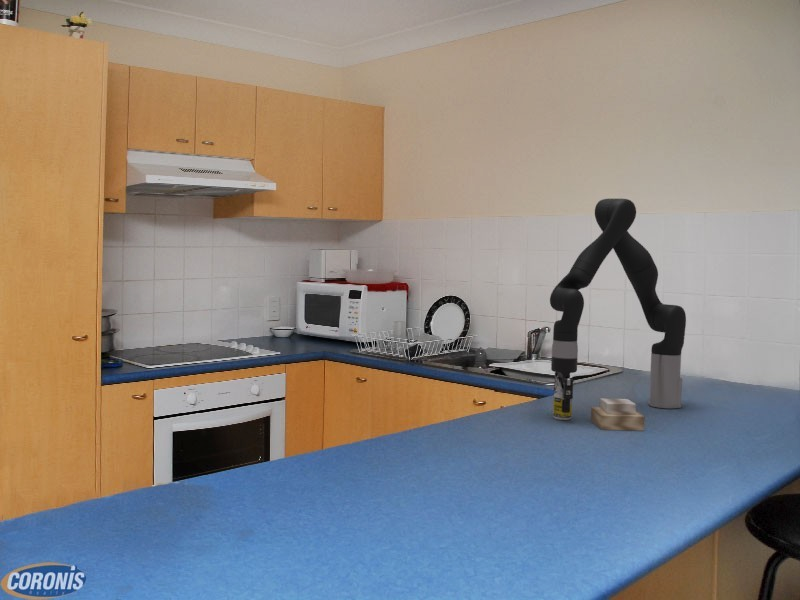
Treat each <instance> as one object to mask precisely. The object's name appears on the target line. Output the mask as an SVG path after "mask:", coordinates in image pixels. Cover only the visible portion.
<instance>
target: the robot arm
mask: <svg viewBox="0 0 800 600" xmlns="http://www.w3.org/2000/svg"><path fill="white" fill-rule="evenodd" d="M636 215H637V207H636V205H635V203H634V202H633V201H632V200H630V199H628V198H603V199H601V200H599V201H598V202H597V203H596V205H595V208H594V217H595V220H596V223H597V225H598V227H599V228H600V230H601V234H600V235H599V236H598V237H596V239H595V240H594V241H592V242H591V243H589V245H588V246H586V248H584V249H583V250H582V251H581V252H580V253H579V255H578V256H577V257H576V259H575V261H574V263H573V265H572V266H571V268H570V269H569V272H568V273H566V275H565V276H563V278H562V279H561V280H560V281H559V283H557V284H556V286H555V287H554V288H553V290H552V292H551V294H550V297H549V303H550V307H551V308H552V309H553V310H554V311H557V312H562V315H561V319H558V320H556V321H555V322H554V323H553V333H552V335H553V336H552V347H551V364H550V367H551V368H550V370H551V371H552V372H554V382H553V383H554V385H553V386H554V387H553V391H554V394H555V393H556V392H557V385H559V391H560V393H561V394H562V412H563V413H569V412H570V400H571V399H572V400H573V399H574V395H573V393H574V378H571V374H573V373H574V374H575V373H576V372H577V371H578V356H579V355H578V354H579V353H578V352H579V347H578V336H579V335H578V333H579V332H578V328H579V324H580V321H581V318H582V314H583V310H584V307H585V299H584V296H583V293H582V292H581V291H580V290H581V289H585V288H587V287H588V286H589V285H590V284H591V282H593V281H592V280H593V279H594V278H595V276H596V275H597V273H598V271H599V269H600V267H601V265H602V264H603V262H604V261H605V259H606V258H607V257H608V255H609V254H610V253H611V251H612V250H613V251H614V253H615V255H616V256H617V258H618V260H619V262H620V264H621V266H622V268H623V271H624V272H625V275H626V277H627V278H628V280H629V283H630V284H631V286H632V288H633V290H634V292H635V295H636V297H637V299H638V300H639V303H640V306H641V308H642V311H643V316H644V318H645V320H646V323H647V325H648V327H650V329H651V330H652V331H655V332H658V333H664V337H663V339H662V340H661V341H659V342H655V343H653V344H652V345H651V349H650V351H651V354H650V355H651V357H650V375H649V396H648V405H649V406H651V407H652V408H653V407H654V408H660V409H682V395H683V393H682V392H683V379H682V378H681V367H682V366H681V364H682V350H683V347H684V344H685V336H686V328H687V327H686V325H687V316H686V315H687V314H686V311H685V309H684V308H683V307H682V306H681V305H676V304H665V303H663V302H662V301H661V300H660V298H659V296H658V293H657V292H656V291H657V290H656V287H657V283H658V278H659V270H658V267H657V265H656V263H655V261H654V259H653V257H652V255H651V253H650V252H649V251H648V250H647V248H645V246H643V244H641V243H640V242H639V241H638V240H637V239H635V238H634V237H633V235H632V234H631V233H629V231H628V230H630V228H631V226H632V225H633V224H634V222H635V219H636ZM566 393H568V395H566Z"/></svg>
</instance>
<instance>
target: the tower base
mask: <svg viewBox="0 0 800 600" xmlns="http://www.w3.org/2000/svg"><path fill="white" fill-rule="evenodd" d="M636 405H637V404H636V403H635V402H633V401H631V400H629V399H628V398H607V397H606V398H602V397H601V398H599V406H591V407H590V421H591V422H592V424H594V425H595V426H596V427H598V428H599V429H600V430H602V431H643V432H644V431H645V422H646V421H645V419H646V418H645V416H644V415H643V414H642V413H641V412H639V411H637V410H636V408H637V406H636Z"/></svg>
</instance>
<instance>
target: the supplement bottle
mask: <svg viewBox="0 0 800 600" xmlns="http://www.w3.org/2000/svg"><path fill="white" fill-rule="evenodd" d="M566 395H568V393H566ZM552 407H553V410H552V417H553V418H554V419H555V420H559V421H561V420H562V421H568V420H569V421H570V420H571V419H572V415H573V414H572V413H573V410H572V409H573V399H571V400H570V412H569V413H563V412H562V394H561V393H560V391H559V385H557V392H556V393H555V392H554V394H553V406H552Z"/></svg>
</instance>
